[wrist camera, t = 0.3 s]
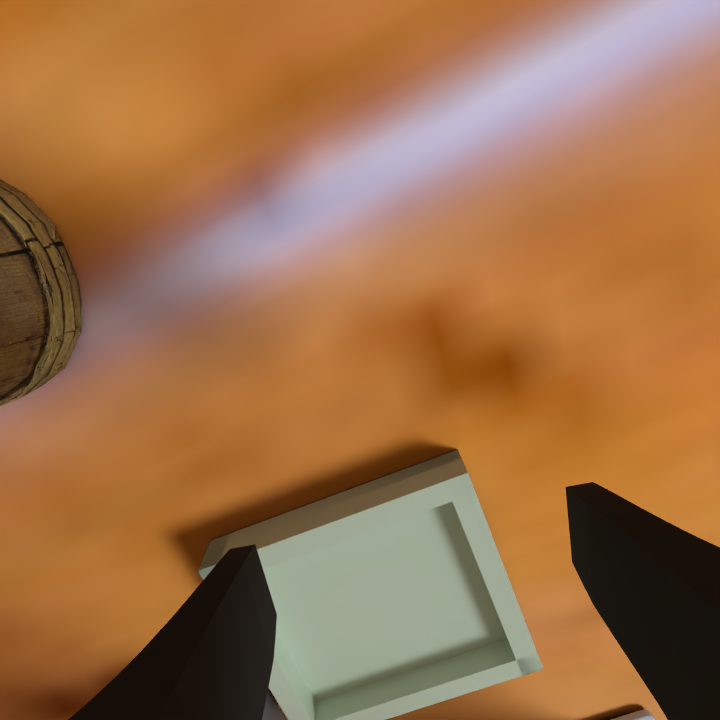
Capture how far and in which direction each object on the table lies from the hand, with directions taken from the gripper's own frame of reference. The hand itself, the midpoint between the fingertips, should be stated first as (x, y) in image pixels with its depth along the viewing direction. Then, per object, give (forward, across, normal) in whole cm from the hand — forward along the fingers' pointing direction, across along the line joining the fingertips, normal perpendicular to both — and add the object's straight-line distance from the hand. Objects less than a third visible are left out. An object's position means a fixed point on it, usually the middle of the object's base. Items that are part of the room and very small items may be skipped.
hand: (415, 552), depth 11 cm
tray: (+10, +2, +10) cm, 14 cm away
